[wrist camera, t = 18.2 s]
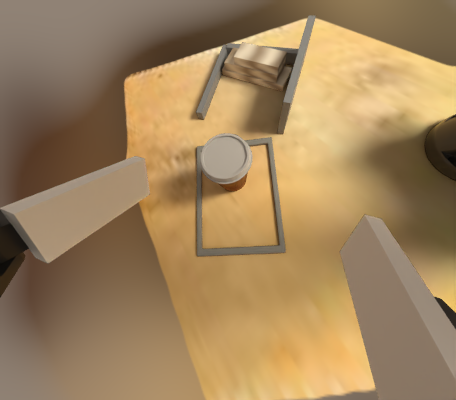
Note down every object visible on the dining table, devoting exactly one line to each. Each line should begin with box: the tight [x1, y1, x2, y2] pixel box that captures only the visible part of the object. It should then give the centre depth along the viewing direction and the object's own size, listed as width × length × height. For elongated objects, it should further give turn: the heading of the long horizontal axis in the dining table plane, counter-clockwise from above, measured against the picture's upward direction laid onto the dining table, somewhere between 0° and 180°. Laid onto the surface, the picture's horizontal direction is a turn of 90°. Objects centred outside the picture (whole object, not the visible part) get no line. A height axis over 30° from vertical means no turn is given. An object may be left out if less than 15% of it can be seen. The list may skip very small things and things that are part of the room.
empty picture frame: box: [197, 134, 286, 256], centre depth 42 cm, size 19×2×30 cm
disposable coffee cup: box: [200, 133, 252, 191], centre depth 37 cm, size 10×10×12 cm
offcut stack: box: [222, 42, 292, 91], centre depth 47 cm, size 18×6×6 cm, turn 63°
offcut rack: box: [196, 16, 315, 134], centre depth 44 cm, size 23×23×10 cm
